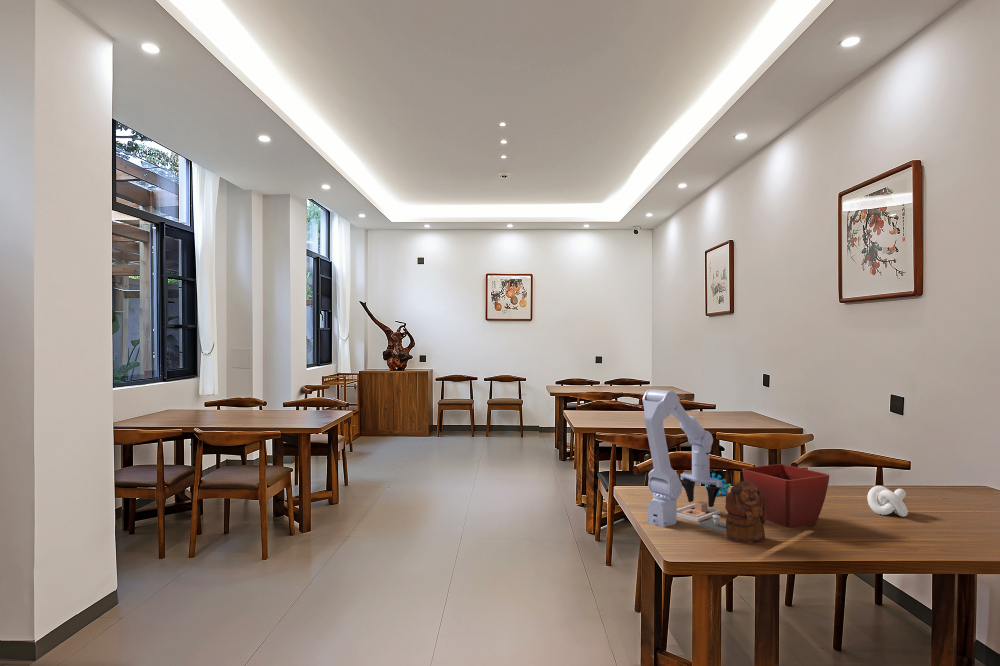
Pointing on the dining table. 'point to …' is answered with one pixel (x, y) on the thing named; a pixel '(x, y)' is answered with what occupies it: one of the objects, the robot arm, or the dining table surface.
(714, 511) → the tray
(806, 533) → the dining table surface
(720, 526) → the grey plate with knob
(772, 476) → the plant pot
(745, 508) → the wooden figurine
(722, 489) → the gear
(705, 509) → the ring
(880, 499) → the white knot sculpture
